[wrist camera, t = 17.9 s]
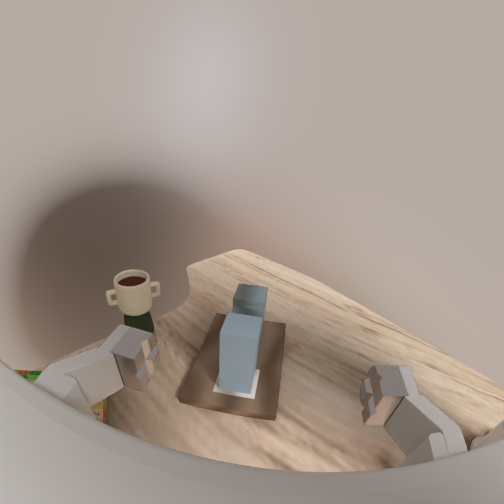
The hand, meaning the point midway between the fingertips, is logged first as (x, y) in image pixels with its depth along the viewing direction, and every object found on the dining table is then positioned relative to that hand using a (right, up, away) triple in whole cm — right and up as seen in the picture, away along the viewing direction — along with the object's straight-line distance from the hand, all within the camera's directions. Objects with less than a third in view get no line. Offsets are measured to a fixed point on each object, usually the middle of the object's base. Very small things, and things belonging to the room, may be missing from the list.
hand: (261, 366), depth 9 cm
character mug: (-23, -13, +43) cm, 50 cm away
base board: (-2, -16, +39) cm, 42 cm away
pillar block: (-3, -17, +33) cm, 37 cm away
